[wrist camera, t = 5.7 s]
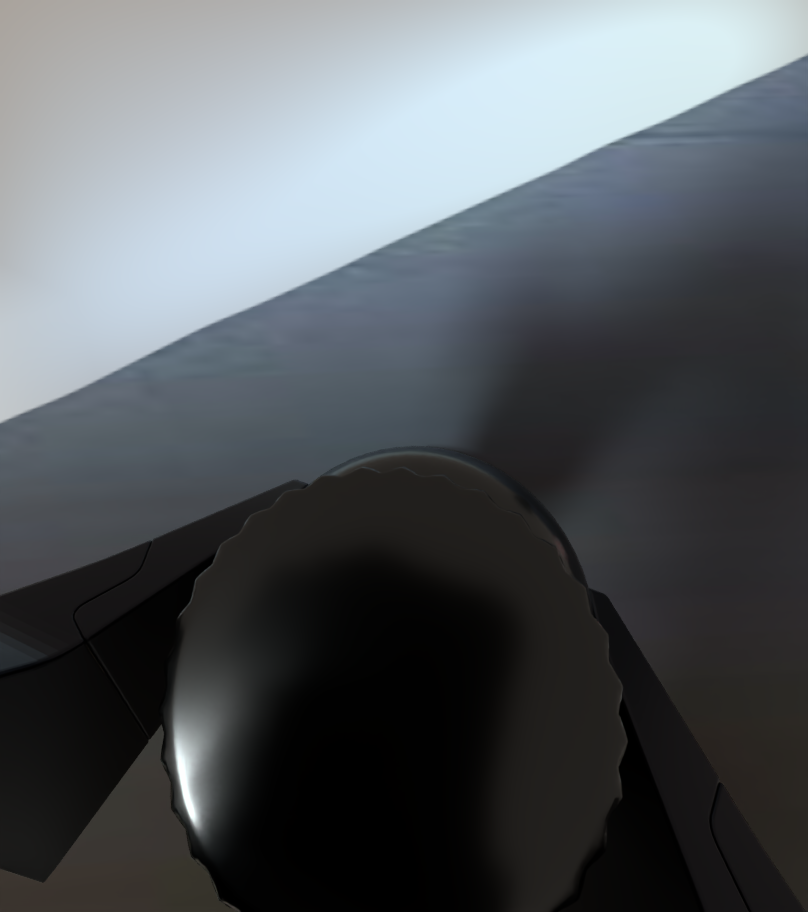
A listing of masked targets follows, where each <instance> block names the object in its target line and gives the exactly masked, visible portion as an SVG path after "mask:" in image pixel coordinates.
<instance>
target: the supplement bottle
mask: <svg viewBox="0 0 808 912" xmlns="http://www.w3.org/2000/svg"><path fill="white" fill-rule="evenodd" d="M163 664H164V676H165V684H166V688H165V691H164V693H163V696H162V699H161V702H160V706H159V709H158V713H159V717H160V721H161V724H162V727H163V731H164V739H163V744H162V752H161V762H162V764H163V767H164V769H165V771H166V773H167V775H168V777H169V779H170V782H171V809H172V811H173V812H174V814H175V815H176V817H177V818H178V820H179V821H180V823H181V824H182V825H183V827H184V828H185V829H186V835H187V841H188V846H189V851H190V855H191V857H192V858H193V859H194V860H195V861H196V862H197V864H198V865H200V866H201V867H202V868H203V869H204V870H205V871H206V872H207V873H208V874H209V876H210V878H211V881H212V884H213V887H214V889H215V892H216V894H217V897H218V899H219V901H221V902H222V903H224V904H225V905H227V906H228V907H230V908H233V909H234V910H236V911H237V912H559V911H560V910H562V909H563V908H566V907H569V906H570V905H572V904H573V903H575V902H576V901H577V900H579V898H580V895H581V892H582V888H583V885H584V880H585V875H586V871H587V869H588V868H589V867H590V866H591V865H592V864H593V863H594V862H596V861H597V860H598V859H599V858H600V857H601V856H602V855H603V854H604V853H605V852H606V847H607V837H608V819H609V818H610V816H611V814H612V812H613V811H614V810H615V809H616V808H617V806H618V805H619V803H620V801H621V799H622V798H623V796H622V785H621V779H620V773H619V765H620V763H621V760H622V758H623V756H624V753H625V750H626V747H627V743H628V739H627V736H626V732H625V729H624V726H623V723H622V721H621V718H620V716H619V707H620V702H621V700H622V691H623V685H622V683H621V681H620V679H619V677H618V675H617V673H616V672H615V670H614V669H613V667H612V665H611V664H610V662H609V635H608V633H607V631H606V630H605V629H604V628H603V626H602V625H601V624H600V622H599V621H598V620H597V619H596V618H595V617H594V614H593V607H592V601H591V597H590V593H589V588H588V585H587V582H586V579H585V575H584V572H583V569H582V567H581V565H580V562H579V560H578V558H577V555H576V553H575V551H574V549H573V547H572V545H571V544H570V542H569V540H568V538H567V536H566V535H565V533H564V532H563V530H562V529H561V527H560V526H559V524H558V523H557V521H556V520H555V518H554V517H553V516H552V515H551V514H550V512H549V511H548V510H547V509H546V508H545V506H544V505H543V504H542V503H541V502H540V501H539V500H538V499H537V498H536V497H535V496H534V495H533V494H532V493H531V492H530V491H528V490H527V489H526V488H525V487H524V486H522V485H521V484H520V483H519V482H518V481H516V480H515V479H513V478H512V477H510V476H509V475H507V474H506V473H505V472H503V471H501V470H499V469H497V468H496V467H494V466H492V465H490V464H488V463H486V462H484V461H481V460H479V459H477V458H474V457H471V456H468V455H465V454H462V453H459V452H455V451H451V450H446V449H441V448H433V447H418V446H409V447H395V448H389V449H383V450H378V451H374V452H370V453H367V454H364V455H361V456H358V457H355V458H353V459H350V460H348V461H346V462H344V463H342V464H340V465H338V466H336V467H334V468H332V469H331V470H329V471H327V472H326V473H324V474H323V475H321V476H320V477H318V478H317V479H316V480H314V481H313V482H312V483H310V484H309V485H308V486H307V487H306V488H305V489H294V490H289V491H285V492H284V493H283V494H282V495H281V496H280V497H279V498H278V499H277V500H276V502H275V503H274V504H273V505H272V506H271V507H270V508H269V509H265V510H261V511H258V512H256V513H253V514H251V515H250V516H249V518H248V519H247V521H246V522H245V523H244V526H243V528H242V529H241V531H240V532H239V534H237V535H235V536H233V537H231V538H229V539H227V540H226V541H224V542H223V543H221V544H220V546H219V549H218V551H217V553H216V555H215V558H214V560H213V563H212V565H211V566H210V567H208V568H207V569H206V570H205V571H203V572H202V573H201V574H200V575H199V576H198V577H197V578H196V579H195V583H194V586H193V591H192V596H191V600H190V602H189V603H188V605H187V606H186V607H185V608H184V609H183V610H182V612H181V613H180V614H179V616H178V617H177V619H176V626H175V642H174V644H173V646H172V648H171V649H170V651H169V653H168V655H167V657H166V659H165V661H164V663H163Z"/></svg>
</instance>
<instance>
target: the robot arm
mask: <svg viewBox="0 0 808 912" xmlns="http://www.w3.org/2000/svg"><path fill="white" fill-rule="evenodd" d="M307 486H308V484H307V483H304V482H301V481H299V480H292V481H289V482H287V483H285V484H282V485H280V486H277V487H275V488H273V489H270V490H268V491H266V492H263V493H261V494H258V495H256V496H254V497H251V498H249V499H247V500H244V501H242V502H239V503H237V504H235V505H232V506H230V507H228V508H225V509H223V510H220V511H218V512H216V513H213V514H211V515H209V516H206V517H204V518H201V519H199V520H197V521H194V522H192V523H190V524H187V525H185V526H182V527H180V528H178V529H175V530H173V531H171V532H168V533H166V534H163V535H161V536H159V537H156V538H154V539H153V540H152V541H151V540H149V541H147V542H144V543H142V544H139V545H137V546H135V547H132V548H130V549H127V550H125V551H122V552H120V553H117V554H115V555H112V556H110V557H107V558H105V559H102V560H99V561H97V562H94V563H91V564H88V565H86V566H83V567H80V568H77V569H74V570H72V571H69V572H66V573H63V574H60V575H57V576H54V577H51V578H48V579H45V580H43V581H40V582H37V583H34V584H31V585H28V586H25V587H22V588H19V589H16V590H13V591H10V592H8V593H5V594H2V595H0V869H2V870H5V871H8V872H12V873H15V874H18V875H21V876H24V877H27V878H30V879H33V880H36V881H39V882H42V883H43V882H45V881H46V879H47V878H48V877H49V876H50V874H51V873H52V872H53V871H54V869H55V868H56V867H57V865H58V864H59V863H60V861H61V860H62V859H63V857H64V856H65V854H66V853H67V852H68V850H69V849H70V848H71V846H72V845H73V844H74V842H75V841H76V840H77V838H78V837H79V835H80V834H81V833H82V831H83V830H84V829H85V827H86V826H87V825H88V823H89V822H90V821H91V819H92V818H93V816H94V815H95V814H96V812H97V811H98V810H99V808H100V807H101V806H102V804H103V803H104V802H105V800H106V799H107V797H108V796H109V795H110V793H111V792H112V791H113V789H114V788H115V787H116V785H117V784H118V783H119V781H120V780H121V779H122V777H123V776H124V774H125V773H126V772H127V770H128V769H129V768H130V766H131V765H132V764H133V762H134V761H135V760H136V758H137V757H138V755H139V754H140V753H141V751H142V750H143V749H144V747H145V746H146V745H147V743H148V740H149V739H151V737H152V736H153V735H154V733H155V732H156V731H157V729H158V728H159V727H160V725H161V721H160V717H159V713H158V709H159V706H160V702H161V699H162V696H163V693H164V691H165V688H166V684H165V676H164V664H163V663H164V661H165V659H166V657H167V655H168V653H169V651H170V649H171V648H172V646H173V644H174V642H175V626H176V619H177V617H178V616H179V614H180V613H181V612H182V610H183V609H184V608H185V607H186V606H187V605H188V603H189V602H190V600H191V596H192V591H193V586H194V583H195V579H196V578H197V577H198V576H199V575H200V574H201V573H202V572H203V571H205V570H206V569H207V568H208V567H210V566H211V565H212V563H213V560H214V558H215V555H216V553H217V551H218V549H219V546H220V544H221V543H223V542H224V541H226V540H227V539H229V538H231V537H233V536H235V535H237V534H239V532H240V531H241V529H242V528H243V526H244V523H245V522H246V521H247V519H248V518H249V516H250V515H251V514H253V513H256V512H258V511H261V510H265V509H269V508H270V507H271V506H272V505H273V504H274V503H275V502H276V500H277V499H278V498H279V497H280V496H281V495H282V494H283V493H284V492H285V491H289V490H294V489H305V488H306V487H307ZM589 593H590V597H591V601H592V607H593V614H594V617H595V618H596V619H597V620H598V621H599V622H600V624H601V625H602V626H603V628H604V629H605V630H606V631H607V633H608V635H609V662H610V664H611V665H612V667H613V669H614V670H615V672H616V673H617V675H618V677H619V679H620V681H621V683H622V685H623V691H622V700H621V702H620V707H619V716H620V718H621V721H622V723H623V726H624V729H625V732H626V736H627V739H628V743H627V747H626V750H625V753H624V756H623V758H622V760H621V763H620V765H619V773H620V779H621V785H622V796H623V798H622V799H621V801H620V803H619V805H618V806H617V808H616V809H615V810H614V811H613V812H612V814H611V816H610V818H609V819H608V837H607V847H606V852H605V853H604V854H603V855H602V856H601V857H600V858H599V859H598V860H597V861H596V862H594V863H593V864H592V865H591V866H590V867H589V868H588V869H587V871H586V875H585V880H584V885H583V888H582V892H581V895H580V898H579V900H577V901H576V902H575V903H573V904H572V905H570V906H569V907H566V908H563V909H562V910H560V912H806V911H805V910H804V908H803V907H802V905H801V904H800V902H799V901H798V899H797V898H796V896H795V895H794V893H793V892H792V890H791V889H790V887H789V886H788V885H787V883H786V882H785V880H784V879H783V877H782V876H781V874H780V873H779V871H778V870H777V868H776V867H775V865H774V864H773V862H772V861H771V859H770V858H769V856H768V855H767V853H766V852H765V850H764V849H763V847H762V846H761V844H760V842H759V841H758V839H757V838H756V836H755V834H754V833H753V831H752V830H751V828H750V827H749V825H748V823H747V822H746V820H745V819H744V817H743V816H742V814H741V812H740V811H739V809H738V808H737V806H736V804H735V803H734V801H733V800H732V798H731V796H730V795H729V793H728V791H727V790H726V788H725V787H724V785H723V784H722V783H719V777H718V775H717V774H716V772H715V771H714V769H713V767H712V766H711V764H710V762H709V761H708V759H707V758H706V756H705V754H704V753H703V751H702V749H701V748H700V746H699V745H698V743H697V741H696V740H695V738H694V736H693V735H692V733H691V732H690V730H689V728H688V727H687V725H686V723H685V722H684V720H683V719H682V717H681V715H680V714H679V712H678V710H677V709H676V707H675V706H674V704H673V702H672V701H671V699H670V697H669V696H668V694H667V693H666V691H665V689H664V688H663V686H662V684H661V683H660V681H659V680H658V678H657V676H656V675H655V673H654V671H653V670H652V668H651V667H650V665H649V663H648V662H647V660H646V658H645V657H644V655H643V654H642V652H641V650H640V649H639V647H638V645H637V644H636V642H635V641H634V639H633V637H632V636H631V634H630V632H629V631H628V629H627V628H626V626H625V624H624V623H623V621H622V619H621V618H620V616H619V615H618V613H617V611H616V610H615V608H614V606H613V605H612V603H611V602H610V600H609V598H608V597H607V596H606V595H605V594H603V593H601V592H598V591H595V590H593V589H590V588H589Z"/></svg>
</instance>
